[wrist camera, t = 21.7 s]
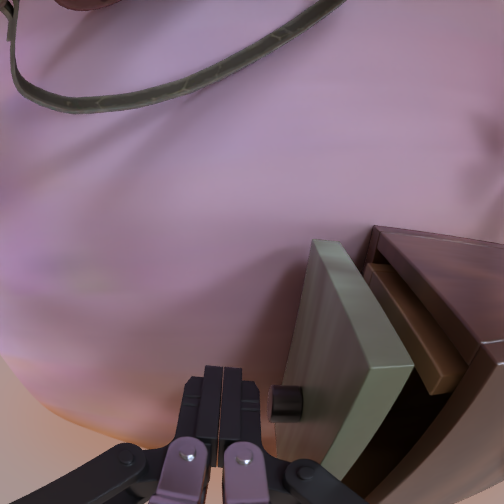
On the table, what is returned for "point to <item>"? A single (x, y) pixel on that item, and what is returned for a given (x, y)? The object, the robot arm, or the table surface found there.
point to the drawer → (360, 371)
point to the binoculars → (150, 96)
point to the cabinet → (472, 351)
